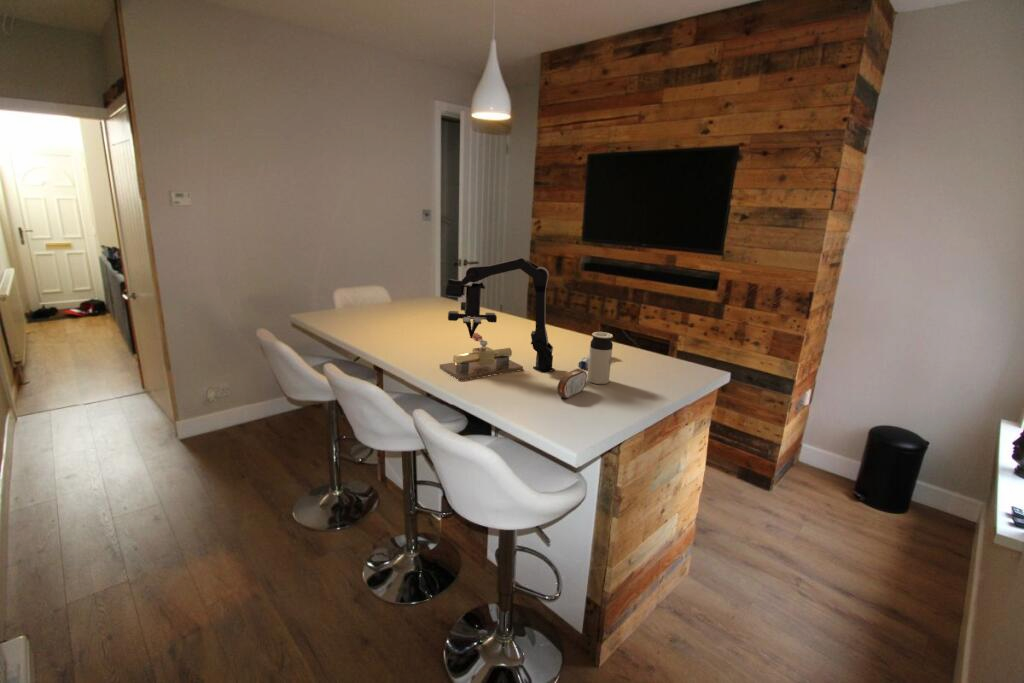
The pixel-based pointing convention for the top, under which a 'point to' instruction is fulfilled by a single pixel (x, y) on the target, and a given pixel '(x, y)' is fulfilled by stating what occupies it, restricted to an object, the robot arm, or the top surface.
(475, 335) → the lever
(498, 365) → the valve
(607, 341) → the travel mug
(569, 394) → the tin
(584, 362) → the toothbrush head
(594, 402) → the top surface
